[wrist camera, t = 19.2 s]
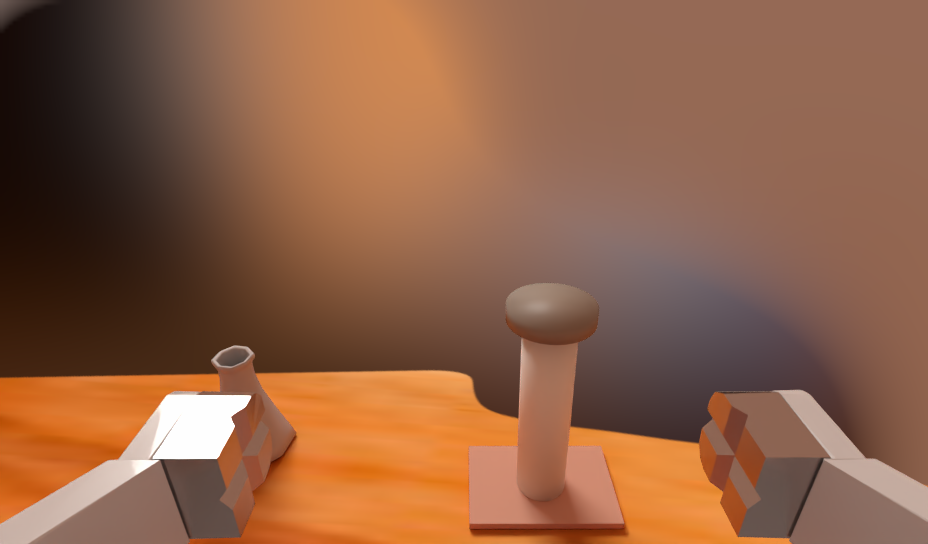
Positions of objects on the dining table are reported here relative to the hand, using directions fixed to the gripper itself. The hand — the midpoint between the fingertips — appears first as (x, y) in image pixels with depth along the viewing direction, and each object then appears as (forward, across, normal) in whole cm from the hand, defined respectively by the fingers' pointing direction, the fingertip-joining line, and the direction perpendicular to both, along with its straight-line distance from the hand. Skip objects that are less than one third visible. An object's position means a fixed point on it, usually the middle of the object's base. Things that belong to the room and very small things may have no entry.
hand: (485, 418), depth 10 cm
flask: (+29, +20, +30) cm, 47 cm away
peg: (+24, -6, +29) cm, 38 cm away
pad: (+24, -6, +30) cm, 39 cm away
